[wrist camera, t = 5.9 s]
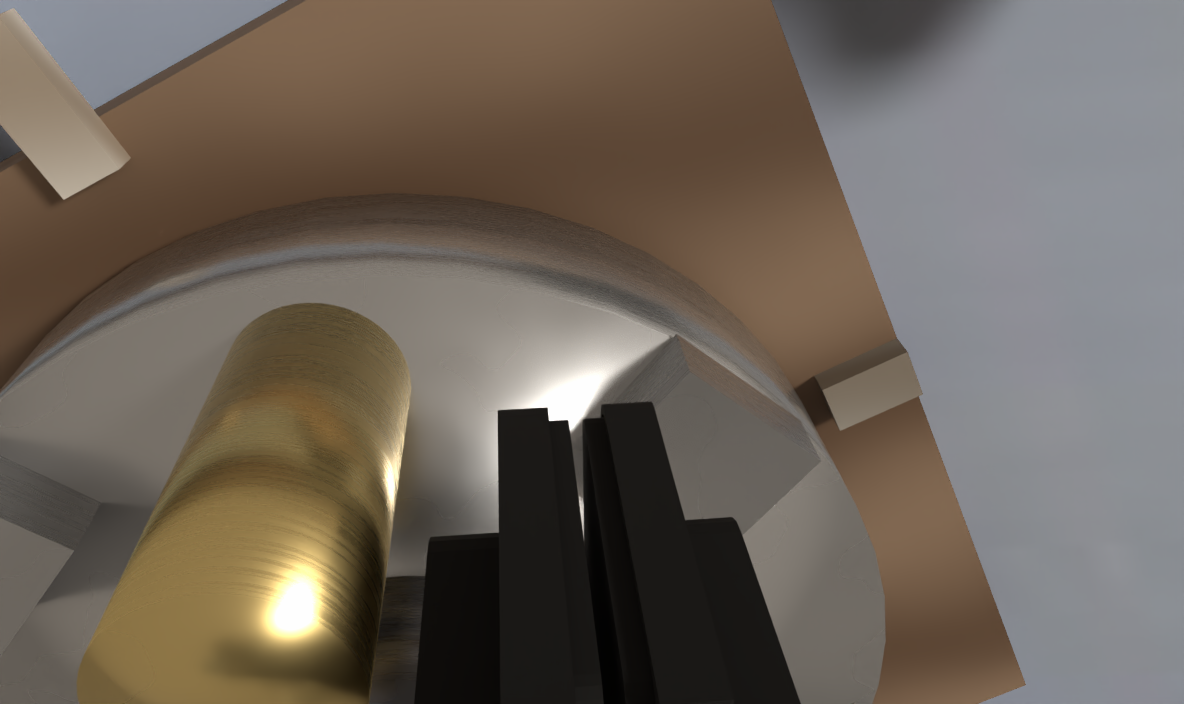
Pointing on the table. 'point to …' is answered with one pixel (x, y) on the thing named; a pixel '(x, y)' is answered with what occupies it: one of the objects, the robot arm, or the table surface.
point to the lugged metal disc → (374, 451)
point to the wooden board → (541, 182)
